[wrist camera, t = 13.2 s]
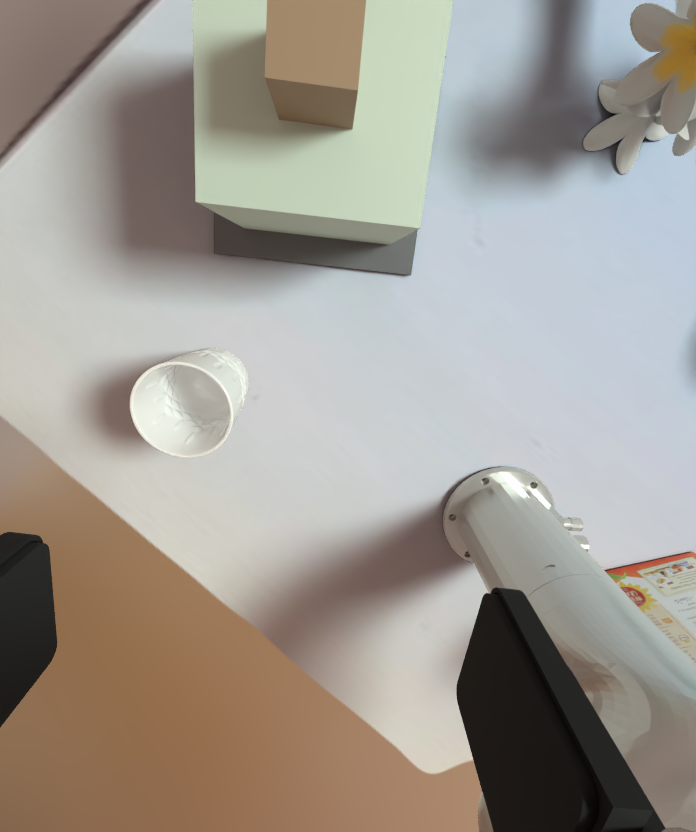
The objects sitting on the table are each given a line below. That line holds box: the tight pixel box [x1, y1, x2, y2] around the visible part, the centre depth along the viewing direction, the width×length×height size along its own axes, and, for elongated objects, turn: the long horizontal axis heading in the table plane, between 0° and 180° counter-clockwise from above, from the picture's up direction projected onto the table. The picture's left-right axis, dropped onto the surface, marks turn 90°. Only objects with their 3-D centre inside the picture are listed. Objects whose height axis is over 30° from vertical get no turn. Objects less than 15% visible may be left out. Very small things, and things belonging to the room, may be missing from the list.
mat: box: [214, 212, 417, 275], centre depth 35 cm, size 18×18×1 cm
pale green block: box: [192, 0, 453, 245], centre depth 26 cm, size 13×13×19 cm
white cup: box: [130, 348, 249, 458], centre depth 37 cm, size 8×8×10 cm
